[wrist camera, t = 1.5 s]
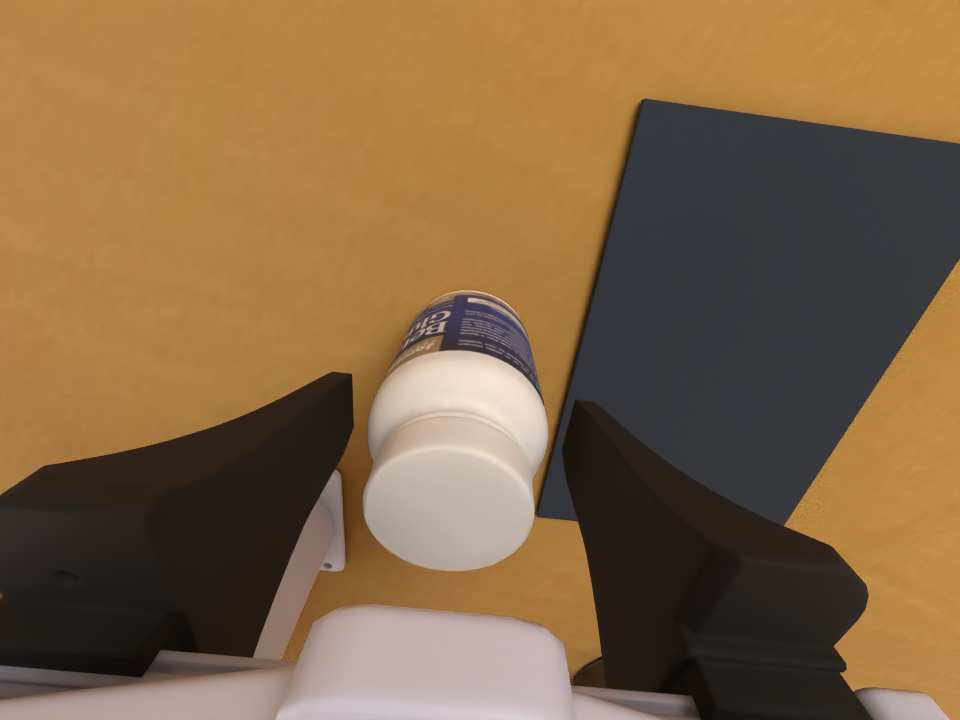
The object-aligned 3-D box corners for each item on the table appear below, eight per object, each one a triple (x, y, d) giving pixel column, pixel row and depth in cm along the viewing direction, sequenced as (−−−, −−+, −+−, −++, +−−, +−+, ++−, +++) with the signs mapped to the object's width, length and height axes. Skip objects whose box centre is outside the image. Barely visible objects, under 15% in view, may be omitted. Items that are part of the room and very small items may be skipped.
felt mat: (536, 512, 22) (536, 517, 22) (641, 99, 13) (644, 98, 13) (770, 536, 22) (774, 540, 22) (1018, 153, 14) (1029, 153, 14)
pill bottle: (442, 263, 16) (387, 372, 7) (550, 323, 17) (619, 484, 8) (390, 364, 18) (297, 545, 9) (489, 412, 19) (491, 616, 10)
